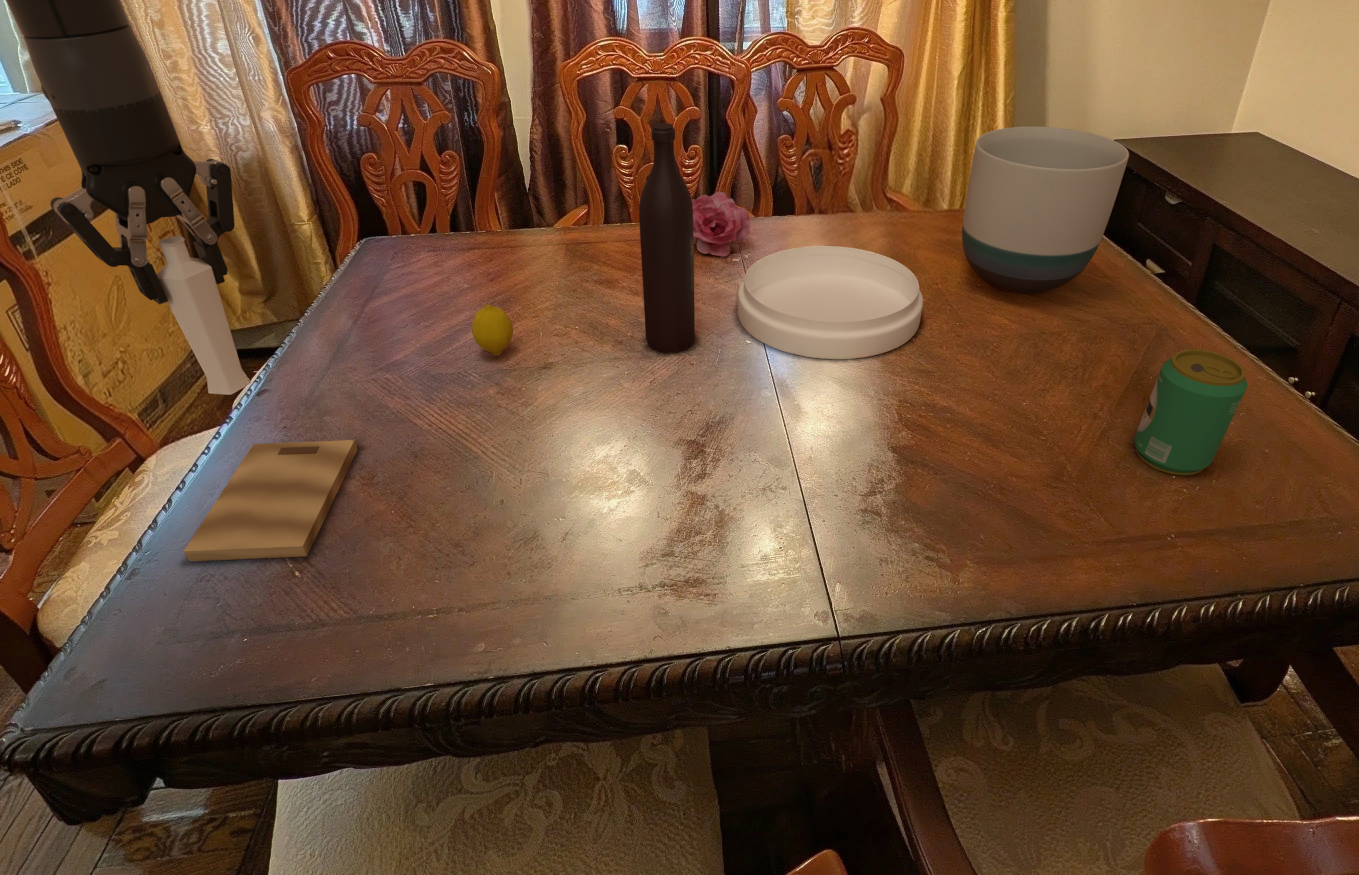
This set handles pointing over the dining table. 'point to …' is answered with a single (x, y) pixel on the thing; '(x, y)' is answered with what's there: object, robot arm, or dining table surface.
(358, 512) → the dining table surface
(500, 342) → the fruit
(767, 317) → the plate
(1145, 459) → the beverage can
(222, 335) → the perfume bottle
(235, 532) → the serving board
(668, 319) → the wine bottle
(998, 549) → the dining table surface
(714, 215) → the flower
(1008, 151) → the planter
